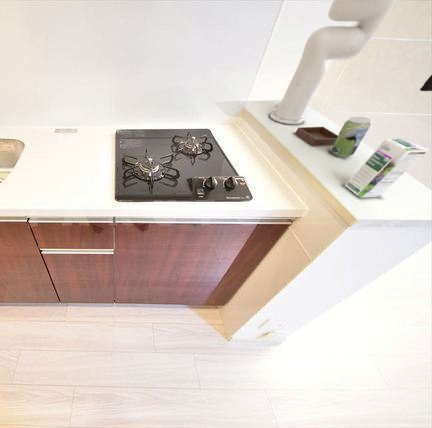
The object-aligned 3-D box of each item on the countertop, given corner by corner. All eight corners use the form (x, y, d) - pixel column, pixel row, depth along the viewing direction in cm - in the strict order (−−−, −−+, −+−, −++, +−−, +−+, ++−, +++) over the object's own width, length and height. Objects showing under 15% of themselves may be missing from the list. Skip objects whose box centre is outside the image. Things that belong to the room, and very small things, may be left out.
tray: (294, 133, 90) (298, 127, 88) (319, 132, 90) (323, 126, 89) (311, 145, 83) (316, 139, 81) (338, 144, 83) (343, 138, 82)
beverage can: (354, 159, 76) (384, 124, 68) (330, 157, 77) (356, 122, 69) (345, 150, 80) (371, 115, 72) (321, 148, 82) (345, 114, 73)
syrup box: (342, 185, 66) (384, 138, 56) (362, 184, 66) (406, 137, 56) (359, 198, 62) (407, 150, 52) (380, 197, 62) (431, 148, 52)
